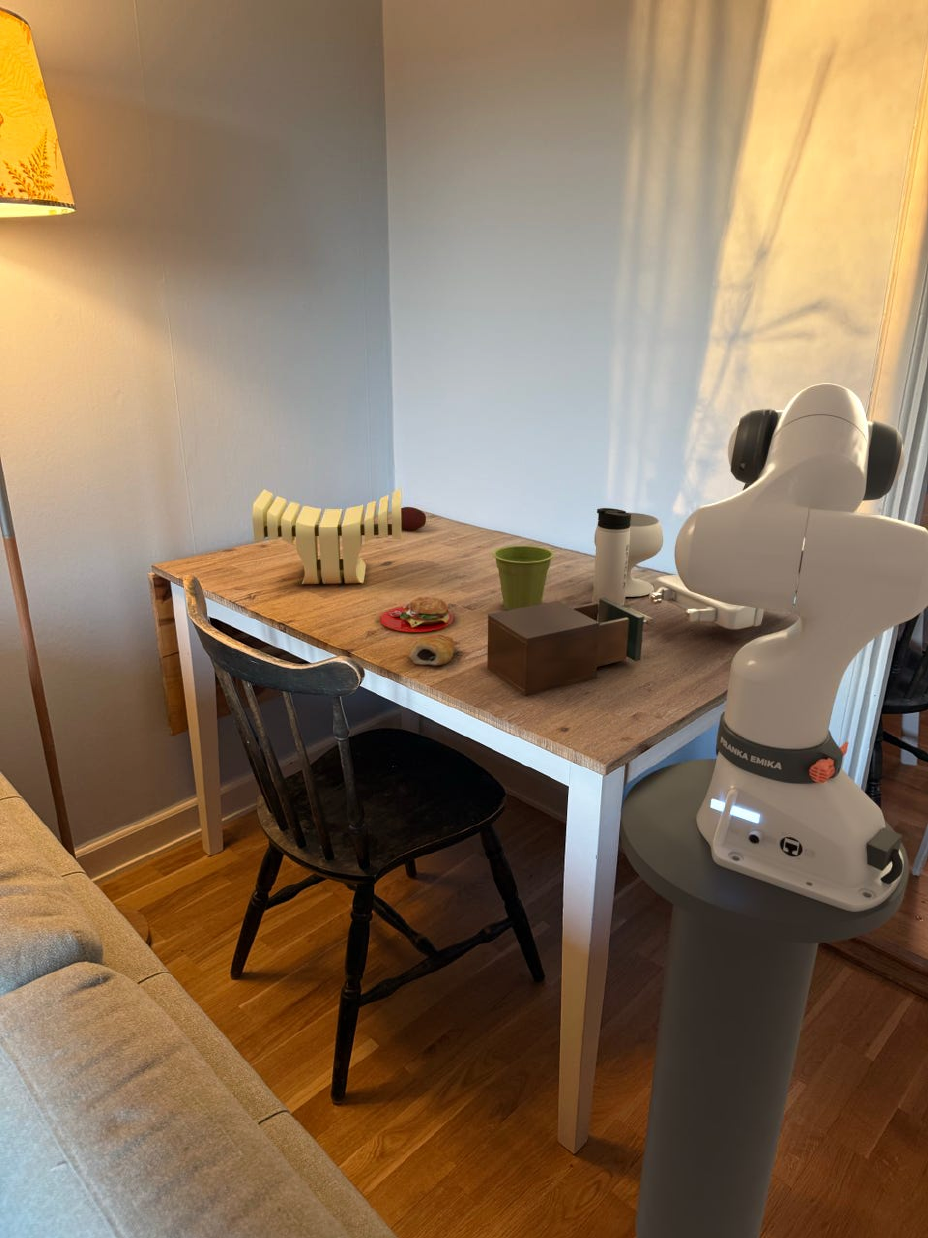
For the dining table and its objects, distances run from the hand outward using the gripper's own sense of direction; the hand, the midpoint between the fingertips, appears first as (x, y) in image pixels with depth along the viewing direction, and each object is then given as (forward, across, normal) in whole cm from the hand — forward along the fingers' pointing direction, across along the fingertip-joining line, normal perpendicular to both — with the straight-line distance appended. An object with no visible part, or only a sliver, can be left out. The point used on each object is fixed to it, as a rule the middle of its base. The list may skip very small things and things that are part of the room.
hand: (669, 607), depth 145 cm
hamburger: (+34, -31, +7) cm, 47 cm away
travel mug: (-2, -19, +7) cm, 20 cm away
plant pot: (+13, -27, +7) cm, 31 cm away
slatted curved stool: (+39, -63, +7) cm, 74 cm away
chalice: (-12, -26, +7) cm, 30 cm away
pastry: (+40, -14, +7) cm, 42 cm away
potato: (+8, -90, +7) cm, 91 cm away
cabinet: (+27, 0, +6) cm, 28 cm away
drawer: (+15, 0, +6) cm, 16 cm away
